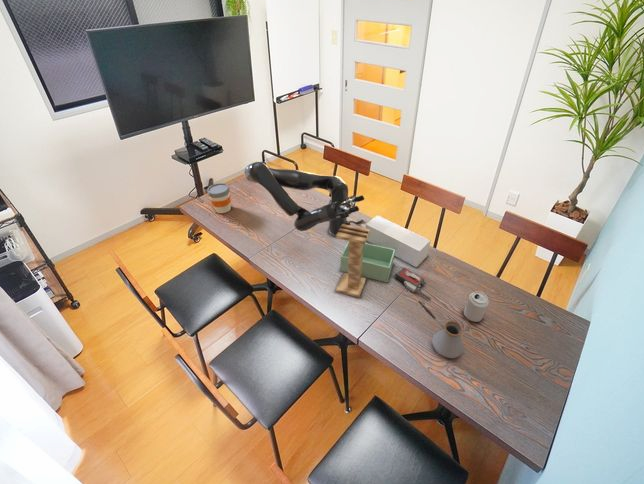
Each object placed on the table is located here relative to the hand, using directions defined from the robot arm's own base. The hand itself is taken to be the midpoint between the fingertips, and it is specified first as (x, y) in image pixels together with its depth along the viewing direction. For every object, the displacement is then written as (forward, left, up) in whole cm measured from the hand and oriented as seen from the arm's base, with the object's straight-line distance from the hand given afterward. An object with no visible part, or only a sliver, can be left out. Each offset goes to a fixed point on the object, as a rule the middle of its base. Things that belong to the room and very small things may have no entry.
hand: (360, 202), depth 141 cm
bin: (-1, +5, -37) cm, 38 cm away
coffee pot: (+19, +47, -38) cm, 63 cm away
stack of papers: (-22, +10, -38) cm, 45 cm away
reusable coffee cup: (+5, -94, -38) cm, 101 cm away
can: (-1, +56, -38) cm, 67 cm away
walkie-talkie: (-3, +29, -38) cm, 48 cm away
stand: (+13, +5, -37) cm, 40 cm away
